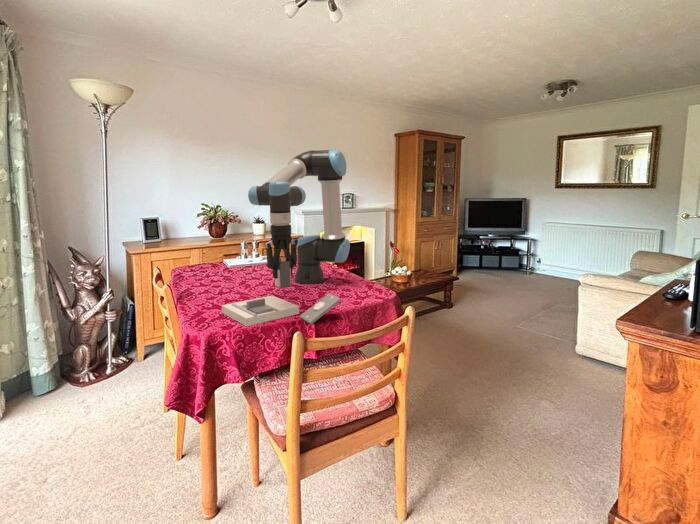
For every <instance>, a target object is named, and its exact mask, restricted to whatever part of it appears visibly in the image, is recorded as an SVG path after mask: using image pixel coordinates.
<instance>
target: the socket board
mask: <svg viewBox="0 0 700 524" xmlns="http://www.w3.org/2000/svg"><path fill="white" fill-rule="evenodd" d="M262 298H264V299H265V305H266V306H269V307H271V308H273V311H269V312H265V313H260V314H255V313H253V312H251V311H249V310H247V301H252V300H257V299H262ZM221 313H222V314H224V315H225V316H227V317H229V318H230V319H232V320H234V321H236V322H238V323H240V324H241V325H243V326H245V327H250V326H254V325H259V324H263V323H266V322H267V323H268V322H272V321H275V320H279V319H283V318H287V317H292V316H295V315H300V305H297V304H294V303H292V302H289V301H287V300H285V299H282V298H280V297H276V296H274V295H267V296H263V297H257V298H252V299H248V300H247V299H246V300H243V301H237V302H233V303H227V304H226V303H225V304H222V305H221Z"/></svg>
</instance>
